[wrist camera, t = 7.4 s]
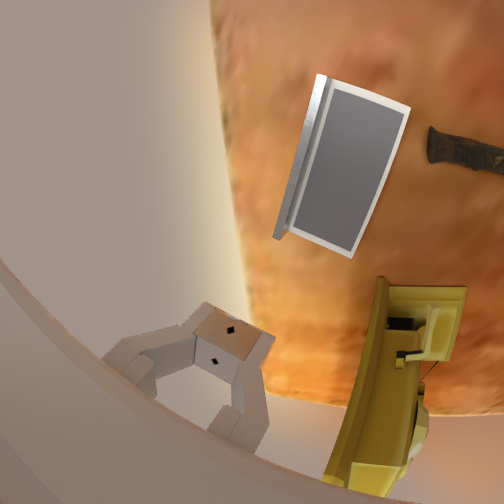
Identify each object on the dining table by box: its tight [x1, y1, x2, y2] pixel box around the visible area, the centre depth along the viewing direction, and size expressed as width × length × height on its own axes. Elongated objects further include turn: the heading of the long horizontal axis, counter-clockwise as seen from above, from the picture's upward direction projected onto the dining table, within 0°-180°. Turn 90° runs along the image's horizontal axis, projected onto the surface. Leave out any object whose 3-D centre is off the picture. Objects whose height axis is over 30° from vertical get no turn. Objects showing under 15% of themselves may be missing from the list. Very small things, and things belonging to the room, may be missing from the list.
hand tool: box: [427, 126, 504, 174], centre depth 23 cm, size 19×4×5 cm, turn 91°
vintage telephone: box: [322, 276, 467, 498], centre depth 29 cm, size 31×14×30 cm, turn 14°
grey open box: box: [273, 74, 411, 259], centre depth 32 cm, size 10×20×7 cm, turn 167°
